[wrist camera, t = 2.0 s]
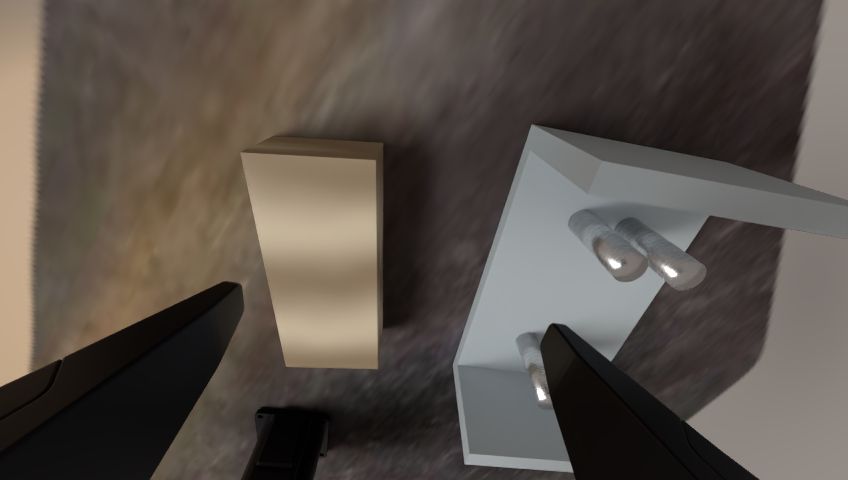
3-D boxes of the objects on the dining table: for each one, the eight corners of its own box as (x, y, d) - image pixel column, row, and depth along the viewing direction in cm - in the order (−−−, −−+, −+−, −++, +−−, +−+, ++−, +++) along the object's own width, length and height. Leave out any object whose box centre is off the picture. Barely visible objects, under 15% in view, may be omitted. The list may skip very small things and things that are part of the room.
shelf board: (383, 325, 25) (377, 369, 21) (304, 323, 24) (286, 366, 21) (383, 141, 18) (375, 160, 14) (275, 135, 18) (240, 152, 14)
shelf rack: (586, 379, 28) (639, 477, 21) (452, 365, 26) (464, 464, 20) (726, 162, 19) (896, 215, 12) (531, 124, 17) (602, 160, 11)
